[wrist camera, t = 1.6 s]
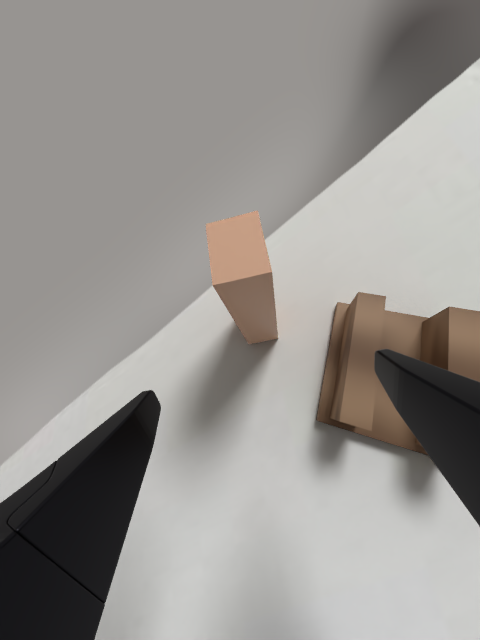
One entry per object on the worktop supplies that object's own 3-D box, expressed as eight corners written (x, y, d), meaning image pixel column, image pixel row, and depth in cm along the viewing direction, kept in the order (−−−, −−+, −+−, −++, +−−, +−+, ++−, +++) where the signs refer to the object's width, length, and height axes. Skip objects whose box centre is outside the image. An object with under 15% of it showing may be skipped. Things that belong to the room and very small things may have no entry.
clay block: (278, 338, 22) (271, 272, 11) (248, 344, 23) (212, 285, 11) (270, 302, 24) (257, 210, 12) (242, 308, 24) (205, 224, 13)
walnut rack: (453, 462, 17) (506, 481, 13) (316, 420, 19) (324, 424, 15) (455, 326, 20) (497, 308, 16) (336, 305, 23) (347, 284, 19)
